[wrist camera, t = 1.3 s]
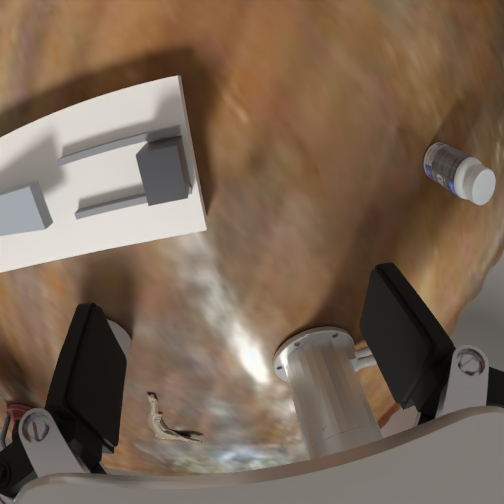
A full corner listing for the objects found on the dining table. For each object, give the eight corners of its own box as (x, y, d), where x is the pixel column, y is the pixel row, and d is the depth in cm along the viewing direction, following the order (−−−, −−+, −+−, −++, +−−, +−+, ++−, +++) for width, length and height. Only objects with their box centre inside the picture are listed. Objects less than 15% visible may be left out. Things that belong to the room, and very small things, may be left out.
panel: (180, 75, 23) (174, 75, 19) (206, 216, 31) (207, 242, 26) (-49, 166, 22) (-74, 183, 17) (-10, 264, 29) (-29, 288, 25)
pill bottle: (416, 171, 31) (463, 200, 24) (431, 135, 29) (481, 157, 22) (441, 184, 32) (485, 214, 25) (455, 151, 30) (503, 175, 23)
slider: (181, 135, 23) (176, 145, 20) (190, 180, 25) (187, 198, 22) (145, 143, 23) (135, 155, 20) (156, 187, 25) (148, 206, 22)
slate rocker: (38, 180, 21) (29, 186, 20) (53, 222, 23) (45, 229, 22) (-8, 195, 22) (-16, 200, 21) (5, 230, 24) (-2, 236, 23)
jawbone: (166, 438, 58) (165, 446, 56) (110, 392, 47) (108, 401, 45) (203, 436, 57) (203, 444, 55) (151, 388, 46) (149, 398, 44)
